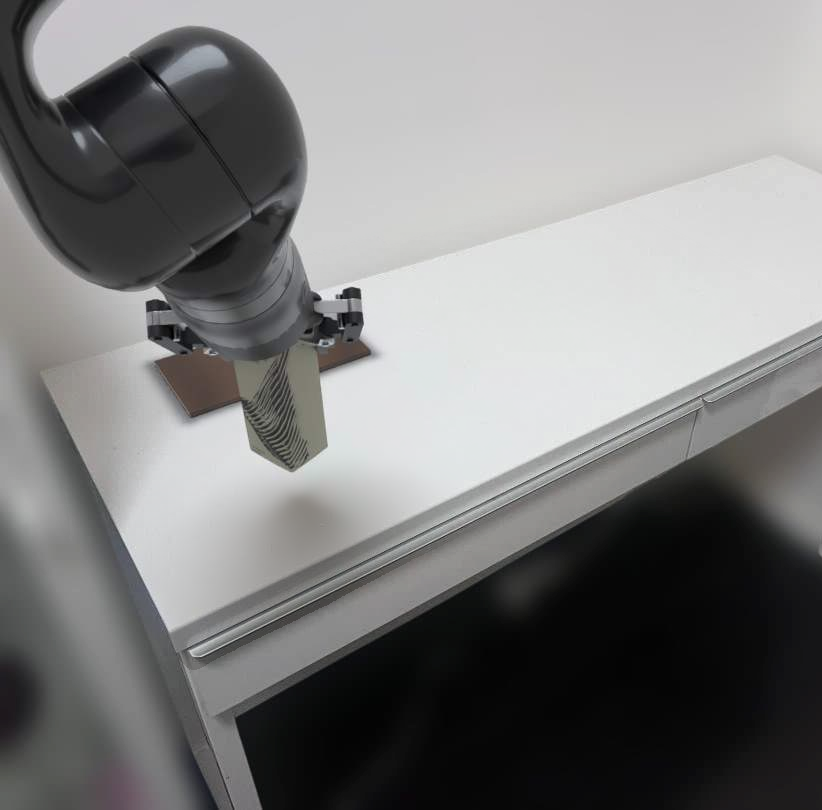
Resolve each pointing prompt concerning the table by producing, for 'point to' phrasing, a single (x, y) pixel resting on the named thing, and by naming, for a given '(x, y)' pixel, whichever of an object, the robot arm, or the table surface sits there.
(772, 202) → the table surface
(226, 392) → the walnut board
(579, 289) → the table surface
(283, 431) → the box
